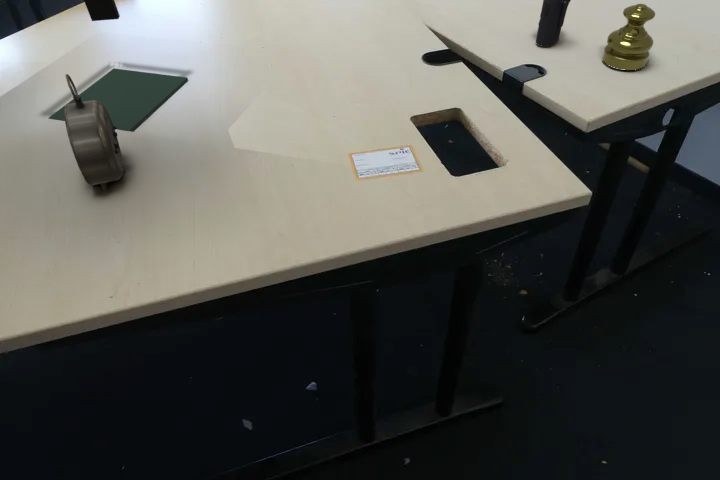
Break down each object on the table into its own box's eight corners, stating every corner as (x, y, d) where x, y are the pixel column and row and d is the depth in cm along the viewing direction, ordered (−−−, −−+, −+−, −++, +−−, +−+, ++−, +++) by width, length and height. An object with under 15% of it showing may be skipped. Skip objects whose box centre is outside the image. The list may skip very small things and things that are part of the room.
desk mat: (49, 121, 89) (47, 118, 89) (114, 71, 101) (113, 68, 101) (130, 133, 85) (129, 130, 85) (188, 80, 97) (187, 77, 97)
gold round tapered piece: (629, 50, 98) (647, -6, 91) (654, 68, 93) (675, 10, 86) (593, 56, 97) (608, 0, 90) (616, 75, 92) (635, 17, 85)
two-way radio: (546, 35, 104) (564, -48, 94) (567, 42, 102) (587, -43, 91) (531, 45, 102) (547, -40, 91) (552, 52, 99) (571, -34, 89)
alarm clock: (94, 163, 80) (45, 61, 68) (131, 155, 81) (89, 53, 70) (96, 207, 72) (41, 101, 61) (137, 197, 74) (90, 91, 62)
